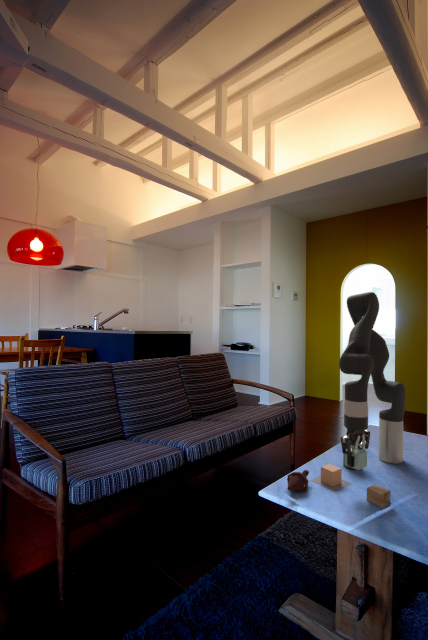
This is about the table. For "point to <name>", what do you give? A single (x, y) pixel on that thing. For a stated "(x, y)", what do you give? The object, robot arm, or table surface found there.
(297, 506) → the table surface
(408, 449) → the table surface
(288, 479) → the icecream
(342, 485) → the plate
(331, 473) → the base brick
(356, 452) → the teal brick
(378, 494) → the walnut brick
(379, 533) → the table surface
